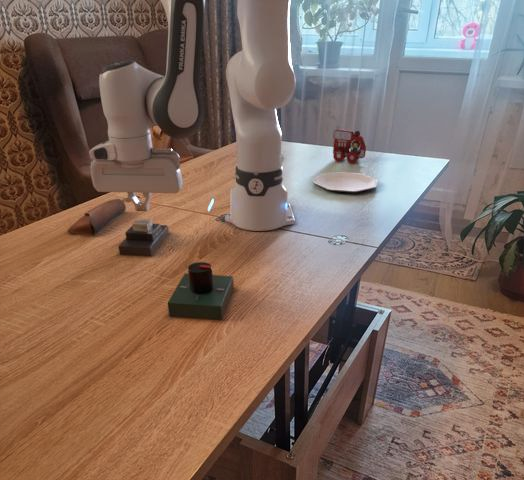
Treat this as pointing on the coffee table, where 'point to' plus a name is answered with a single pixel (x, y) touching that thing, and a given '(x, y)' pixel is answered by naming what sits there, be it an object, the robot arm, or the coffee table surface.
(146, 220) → the key
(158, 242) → the key block
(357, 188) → the plate
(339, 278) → the coffee table surface
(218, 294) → the volume panel
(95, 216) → the sunglasses case
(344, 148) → the toy fire truck
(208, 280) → the volume dial
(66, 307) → the coffee table surface
